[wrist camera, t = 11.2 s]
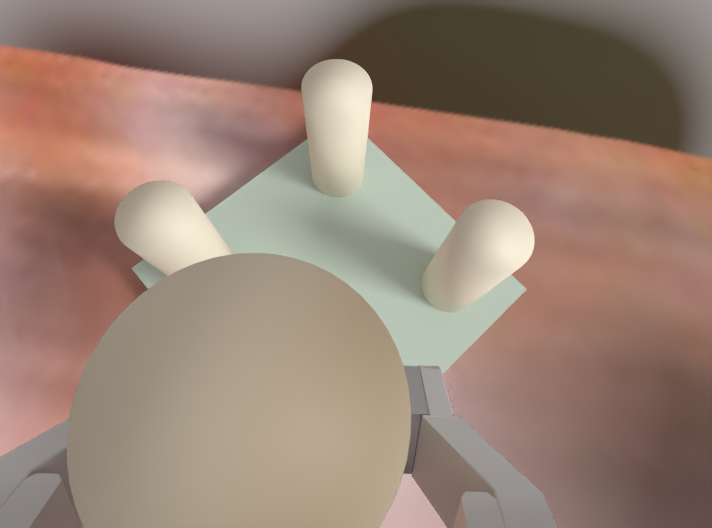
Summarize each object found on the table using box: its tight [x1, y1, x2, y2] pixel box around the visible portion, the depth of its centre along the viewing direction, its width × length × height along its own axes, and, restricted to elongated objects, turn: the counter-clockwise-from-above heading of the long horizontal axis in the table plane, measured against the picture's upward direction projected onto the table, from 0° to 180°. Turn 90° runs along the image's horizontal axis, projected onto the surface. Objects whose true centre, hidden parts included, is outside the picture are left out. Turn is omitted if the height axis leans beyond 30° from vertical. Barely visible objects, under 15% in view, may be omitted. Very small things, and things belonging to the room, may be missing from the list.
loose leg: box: [67, 253, 411, 528], centre depth 11 cm, size 4×4×12 cm
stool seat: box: [114, 59, 534, 374], centre depth 27 cm, size 20×20×12 cm
